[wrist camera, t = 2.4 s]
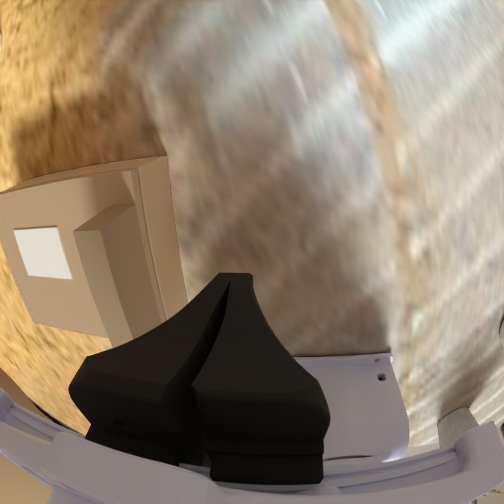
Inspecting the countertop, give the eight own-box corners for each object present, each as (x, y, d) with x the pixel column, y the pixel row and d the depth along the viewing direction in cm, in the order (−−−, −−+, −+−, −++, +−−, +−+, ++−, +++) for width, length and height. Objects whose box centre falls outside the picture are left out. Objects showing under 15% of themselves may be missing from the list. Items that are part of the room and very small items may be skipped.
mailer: (167, 155, 15) (139, 166, 12) (187, 301, 19) (172, 336, 16) (30, 178, 16) (-2, 193, 13) (62, 291, 20) (39, 315, 17)
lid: (136, 167, 12) (92, 189, 8) (171, 339, 16) (153, 385, 13) (-5, 194, 12) (-42, 214, 9) (37, 317, 17) (13, 346, 14)
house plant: (459, 434, 30) (479, 508, 15) (393, 451, 31) (407, 539, 16) (506, 382, 23) (543, 468, 9) (438, 401, 24) (471, 515, 10)
